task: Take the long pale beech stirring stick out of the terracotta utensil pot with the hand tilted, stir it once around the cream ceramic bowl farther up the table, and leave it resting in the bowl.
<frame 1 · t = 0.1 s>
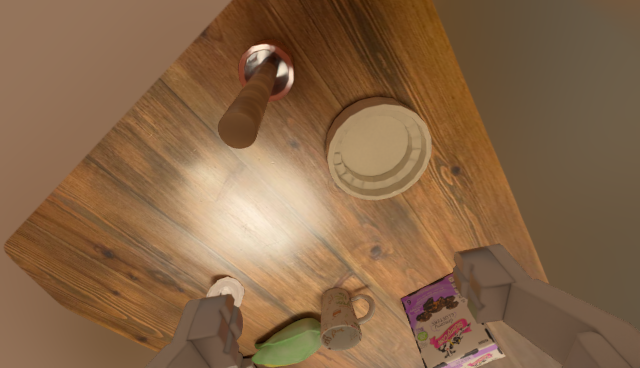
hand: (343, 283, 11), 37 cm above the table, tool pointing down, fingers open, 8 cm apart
mug: (343, 292, 67), on the table
candy box: (431, 291, 68), on the table
utensil pot: (271, 65, 41), on the table
stick: (270, 65, 41), point 1 cm above the table, touching utensil pot
corn: (289, 329, 72), on the table
bunny figurine: (244, 363, 79), on the table
seashell: (227, 285, 63), on the table
bowl: (372, 143, 48), on the table
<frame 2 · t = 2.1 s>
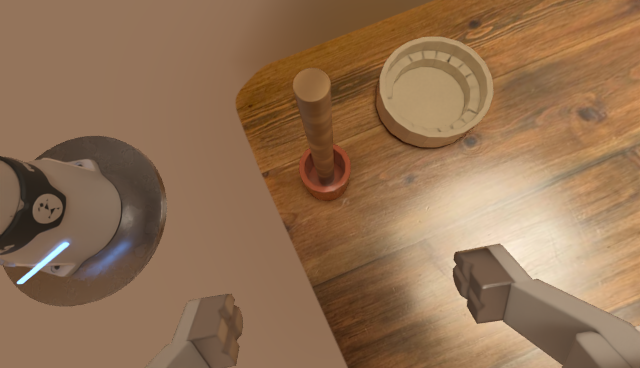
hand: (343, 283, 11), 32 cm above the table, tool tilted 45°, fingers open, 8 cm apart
utensil pot: (326, 179, 45), on the table
stick: (326, 178, 44), point 1 cm above the table, touching utensil pot
bowl: (425, 102, 46), on the table
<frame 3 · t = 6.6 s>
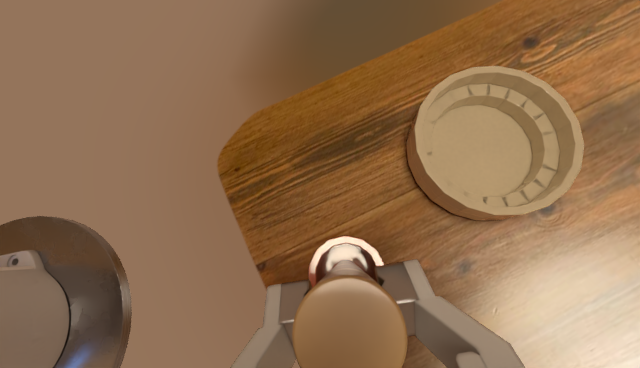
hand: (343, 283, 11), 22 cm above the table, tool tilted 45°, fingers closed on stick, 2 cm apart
utensil pot: (346, 271, 32), on the table
stick: (346, 271, 31), point 1 cm above the table, touching gripper, utensil pot
bowl: (475, 153, 34), on the table
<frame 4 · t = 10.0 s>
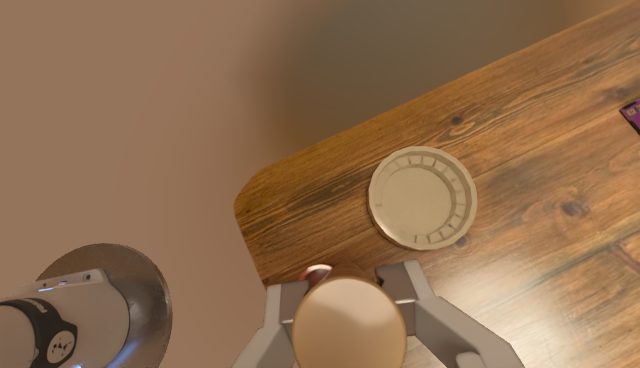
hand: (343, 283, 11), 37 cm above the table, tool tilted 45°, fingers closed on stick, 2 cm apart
utensil pot: (324, 284, 46), on the table
stick: (346, 271, 31), point 16 cm above the table, touching gripper
bowl: (414, 201, 48), on the table
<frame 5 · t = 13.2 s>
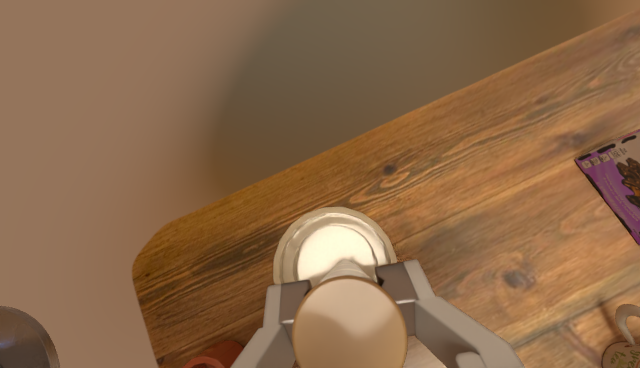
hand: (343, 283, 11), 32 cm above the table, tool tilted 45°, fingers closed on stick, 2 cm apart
mug: (616, 349, 37), on the table
candy box: (620, 192, 41), on the table
utensil pot: (226, 366, 40), on the table
stick: (346, 271, 31), point 11 cm above the table, touching gripper
bowl: (335, 266, 42), on the table
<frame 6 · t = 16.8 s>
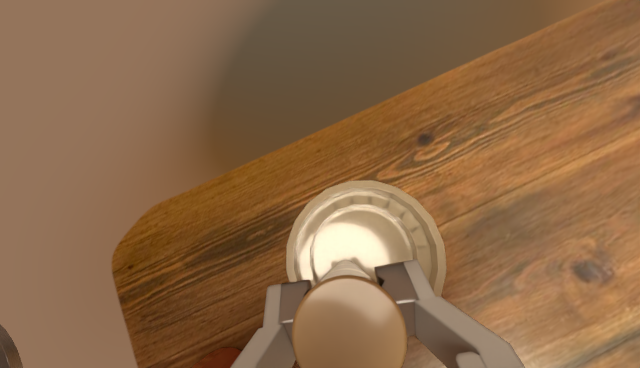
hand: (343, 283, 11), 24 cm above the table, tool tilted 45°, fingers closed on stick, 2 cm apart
stick: (346, 271, 31), point 2 cm above the table, touching gripper
bowl: (361, 256, 34), on the table
when the fingers open (22 cm above the table, at t = 19.8 s): stick stays where it is, resting on bowl.
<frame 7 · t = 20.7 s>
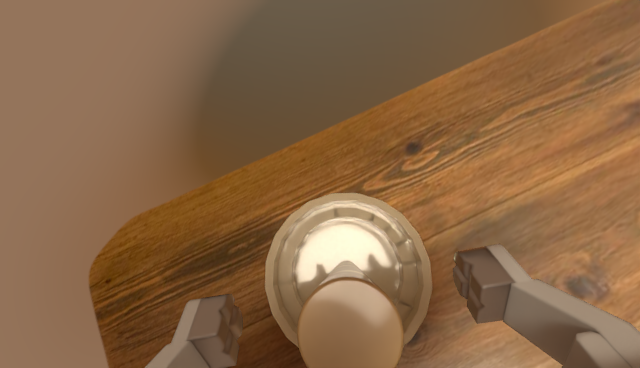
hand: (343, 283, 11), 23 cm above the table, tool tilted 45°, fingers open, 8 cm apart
stick: (346, 272, 32), point 1 cm above the table, touching bowl
bowl: (346, 271, 32), on the table
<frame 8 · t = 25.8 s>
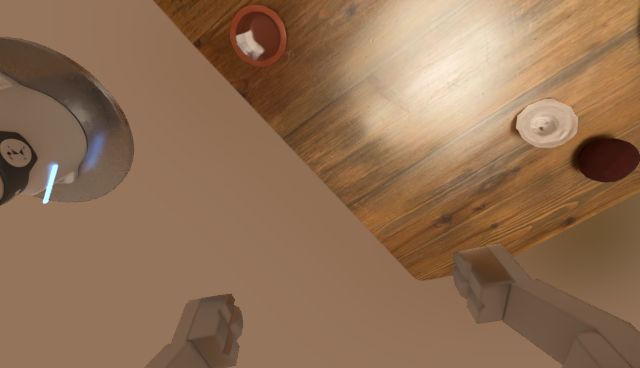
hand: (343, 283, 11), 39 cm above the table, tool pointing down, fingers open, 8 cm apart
utensil pot: (264, 33, 41), on the table
dark maroon ball: (588, 151, 54), on the table
seashell: (532, 118, 50), on the table
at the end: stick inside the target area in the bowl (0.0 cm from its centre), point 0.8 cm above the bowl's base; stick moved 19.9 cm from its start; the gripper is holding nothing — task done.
